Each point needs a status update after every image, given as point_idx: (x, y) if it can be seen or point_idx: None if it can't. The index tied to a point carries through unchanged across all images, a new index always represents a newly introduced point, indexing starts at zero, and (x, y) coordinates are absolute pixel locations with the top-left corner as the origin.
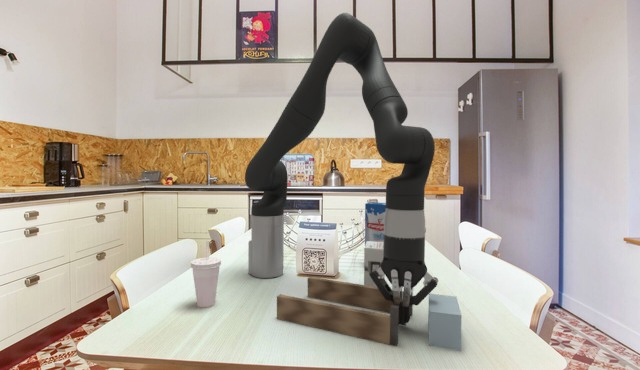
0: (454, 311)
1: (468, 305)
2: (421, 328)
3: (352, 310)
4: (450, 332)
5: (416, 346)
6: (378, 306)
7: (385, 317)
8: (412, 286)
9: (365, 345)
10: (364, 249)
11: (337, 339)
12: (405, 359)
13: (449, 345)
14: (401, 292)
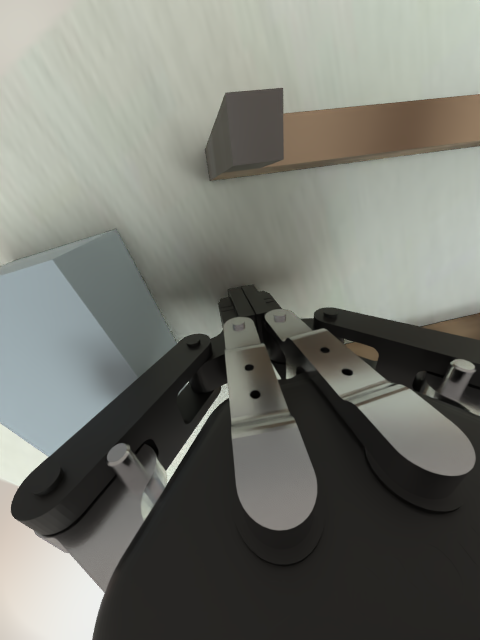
0: None
1: None
2: (189, 324)
3: (465, 105)
4: (7, 266)
5: (147, 195)
6: None
7: (285, 116)
8: (223, 403)
9: (307, 75)
10: None
11: (414, 59)
12: (127, 37)
13: (43, 252)
14: (281, 376)
